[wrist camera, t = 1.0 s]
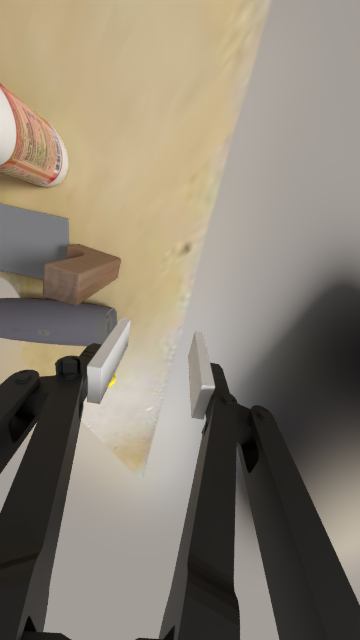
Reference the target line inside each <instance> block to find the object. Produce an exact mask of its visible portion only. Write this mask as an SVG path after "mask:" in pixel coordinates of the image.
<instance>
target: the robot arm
mask: <svg viewBox="0 0 360 640" xmlns="http://www.w3.org/2000/svg"><path fill="white" fill-rule="evenodd" d="M130 320H131V319H126V318H121V319H120V321H119V322H118V324H117V325H116V326H115V328H114V329H113V331H112V332H111V333H110V335H109V336H108V338H107V339H106V340H105V342H104V343H103V344H96V343H93V344H91V345H89V346H87V347H86V348H85V350H84V351H83V352H82V353H81V355H80V356H79V357H78V356H66V357H63V358H60V359H59V360H57V362H56V363H55V366H56V375H55V376H44V377H39V373H38V372H37V371H34V370H23V371H19V372H17V373H14V374H13V375H11V376H10V377H9V378H8V379H6V380H5V381H4V382H3V383H2V384H1V385H0V473H1V472H2V471H3V469H4V468H5V466H6V465H7V463H8V462H9V461H10V459H11V458H12V456H13V455H14V454H15V452H16V451H17V449H18V448H19V447H20V445H21V444H22V442H23V441H24V439H25V438H26V437H27V435H28V434H29V432H30V431H31V429H32V428H33V427H34V425H35V424H36V423H37V424H36V427H35V429H34V431H33V434H32V436H31V439H30V441H29V444H28V446H27V449H26V451H25V454H24V456H23V459H22V461H21V464H20V466H19V469H18V471H17V474H16V476H15V478H14V481H13V483H12V486H11V488H10V491H9V493H8V496H7V498H6V501H5V503H4V506H3V508H2V510H1V513H0V640H71V639H69V638H68V637H66V636H65V635H63V634H61V633H47V632H43V629H44V624H45V618H46V612H47V605H48V596H49V586H50V579H51V574H52V568H53V563H54V558H55V553H56V547H57V542H58V537H59V532H60V527H61V521H62V516H63V511H64V506H65V501H66V495H67V490H68V485H69V480H70V474H71V469H72V464H73V459H74V454H75V448H76V443H77V438H78V433H79V427H80V422H81V417H82V412H83V402H84V400H85V398H86V397H87V402H91V403H97V404H100V402H101V400H102V398H103V396H104V394H105V392H106V390H107V388H108V386H109V384H110V382H111V380H112V377H113V375H114V373H115V371H116V369H117V367H118V365H119V363H120V361H121V359H122V357H123V355H124V353H125V351H126V348H127V346H128V339H129V329H130ZM188 360H189V379H190V397H191V416H192V418H197V419H204V415H205V413H206V423H205V425H204V428H203V431H202V434H203V435H202V440H201V445H200V450H199V455H198V459H197V464H196V469H195V474H194V479H193V484H192V489H191V494H190V498H189V503H188V508H187V513H186V518H185V523H184V528H183V533H182V537H181V542H180V547H179V552H178V557H177V562H176V567H175V572H174V577H173V581H172V586H171V590H170V595H169V598H168V602H167V606H166V609H165V613H164V617H163V621H162V626H161V630H160V635H159V639H148V638H138V639H136V640H240V616H239V615H240V614H239V605H238V600H237V597H236V594H235V592H234V537H235V492H236V448H237V447H238V451H239V456H240V461H241V465H242V470H243V474H244V479H245V484H246V488H247V493H248V497H249V502H250V507H251V511H252V516H253V520H254V525H255V529H256V534H257V539H258V543H259V548H260V552H261V557H262V562H263V566H264V571H265V575H266V580H267V585H268V589H269V594H270V598H271V603H272V607H273V612H274V617H275V621H276V625H277V630H278V635H279V640H360V605H359V603H358V601H357V598H356V596H355V594H354V592H353V590H352V588H351V585H350V583H349V581H348V579H347V577H346V575H345V572H344V570H343V568H342V566H341V563H340V561H339V559H338V557H337V555H336V552H335V550H334V548H333V546H332V544H331V542H330V539H329V537H328V535H327V533H326V530H325V528H324V526H323V524H322V522H321V519H320V517H319V515H318V513H317V511H316V508H315V506H314V504H313V502H312V500H311V498H310V495H309V493H308V491H307V489H306V486H305V484H304V482H303V480H302V478H301V475H300V473H299V471H298V469H297V467H296V464H295V462H294V460H293V458H292V456H291V454H290V451H289V449H288V447H287V445H286V443H285V441H284V438H283V436H282V434H281V432H280V429H279V427H278V425H277V423H276V421H275V418H274V416H273V415H272V413H271V412H270V411H269V410H267V409H266V408H264V407H262V406H259V405H255V406H253V407H252V408H251V409H248V408H246V407H244V406H241V405H240V404H238V403H237V400H236V399H235V397H234V396H233V395H231V394H230V392H229V389H228V386H227V382H226V379H225V376H224V372H223V369H222V368H221V367H220V365H219V364H214V363H210V361H209V356H208V352H207V348H206V343H205V339H204V334H203V333H202V332H196V331H195V333H194V337H193V340H192V344H191V348H190V352H189V355H188ZM37 421H38V422H37Z"/></svg>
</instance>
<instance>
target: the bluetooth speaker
mask: <svg viewBox="0 0 360 640" xmlns="http://www.w3.org/2000/svg"><path fill="white" fill-rule="evenodd" d="M116 325H117V312H116V310H115V309H114V308H111V307H106V306H101V305H93V304H87V303H80V304H78V305H77V306H74V305H70V304H67V303H64V302H60V301H57V300H52V299H33V298H31V299H26V298H2V299H0V337H1V338H6V339H11V340H19V341H27V342H36V343H47V344H58V345H75V346H89V345H91V344H93V343H96V344H103V343H104V342H105V340H106V339H107V338H108V336H109V335H110V333H111V332H112V331H113V329H114V328H115V326H116Z"/></svg>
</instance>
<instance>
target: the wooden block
mask: <svg viewBox="0 0 360 640" xmlns="http://www.w3.org/2000/svg"><path fill="white" fill-rule="evenodd" d="M120 262H121V259H120V258H118V257H115V256H112V255H109V254H106V253H104V252H101V251H98V250H95V249H92V248H89V247H86V246H83V245H80V244H77V245H68V246H67V250H66V260H61V261H57V262H52V263H48V264H45V265H44V275H43V296H44V297H47V298H50V299H53V300H57V301H60V302H64V303H67V304H70V305H74V306H77V305H78V304H80V303H81V302H83V301H84V300H86V299H87V298H89V297H90V296H92V295H93V294H95V293H96V292H97V291H99V290H100V289H102V288H103V287H105V286H106V285H108V284H109V283H111V282H112V281H114V280H115V279H116V278H117V277H118V272H119V267H120Z"/></svg>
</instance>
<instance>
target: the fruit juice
mask: <svg viewBox="0 0 360 640" xmlns="http://www.w3.org/2000/svg"><path fill="white" fill-rule="evenodd" d="M68 164H69V162H68V154H67V150H66V147H65V145H64V143H63V141H62V139H61V137H60V136H59V134H58V133H57V132H56V131H55V130H54V128H53V127H52V126H51V125H50V124H49V123H47V122H46V121H45V120H44V119H43V118H41V117H40V116H39V115H38V114H37V113H35V112H34V111H33V110H32V109H31V108H29V107H28V106H27V105H26V104H25V103H23V102H22V101H21V100H20V99H19V98H17V97H16V96H15V95H14V94H13V93H11V92H10V91H9V90H8V89H6V88H5V87H4V86H3V85H2V84H0V173H3V174H6V175H9V176H12V177H15V178H18V179H21V180H24V181H27V182H30V183H32V184H35V185H38V186H43V187H52V186H56V185H58V184H59V183H61V182H62V181H63V180H64V178H65V176H66V174H67V171H68Z"/></svg>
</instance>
